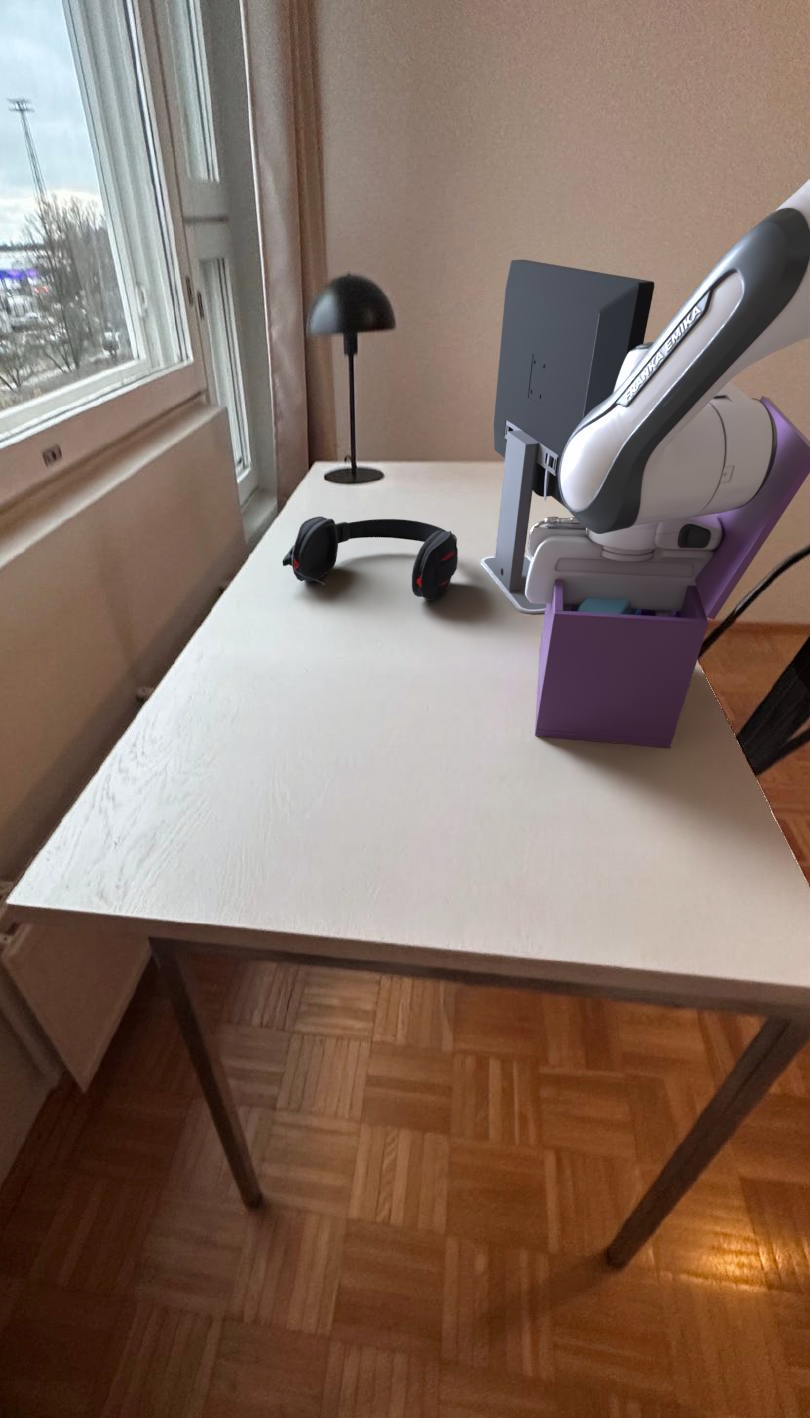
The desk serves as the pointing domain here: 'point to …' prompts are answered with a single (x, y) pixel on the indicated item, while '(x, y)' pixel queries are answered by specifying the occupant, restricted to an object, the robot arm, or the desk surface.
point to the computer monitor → (553, 387)
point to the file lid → (755, 516)
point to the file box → (616, 672)
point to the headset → (323, 535)
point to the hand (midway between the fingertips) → (605, 640)
